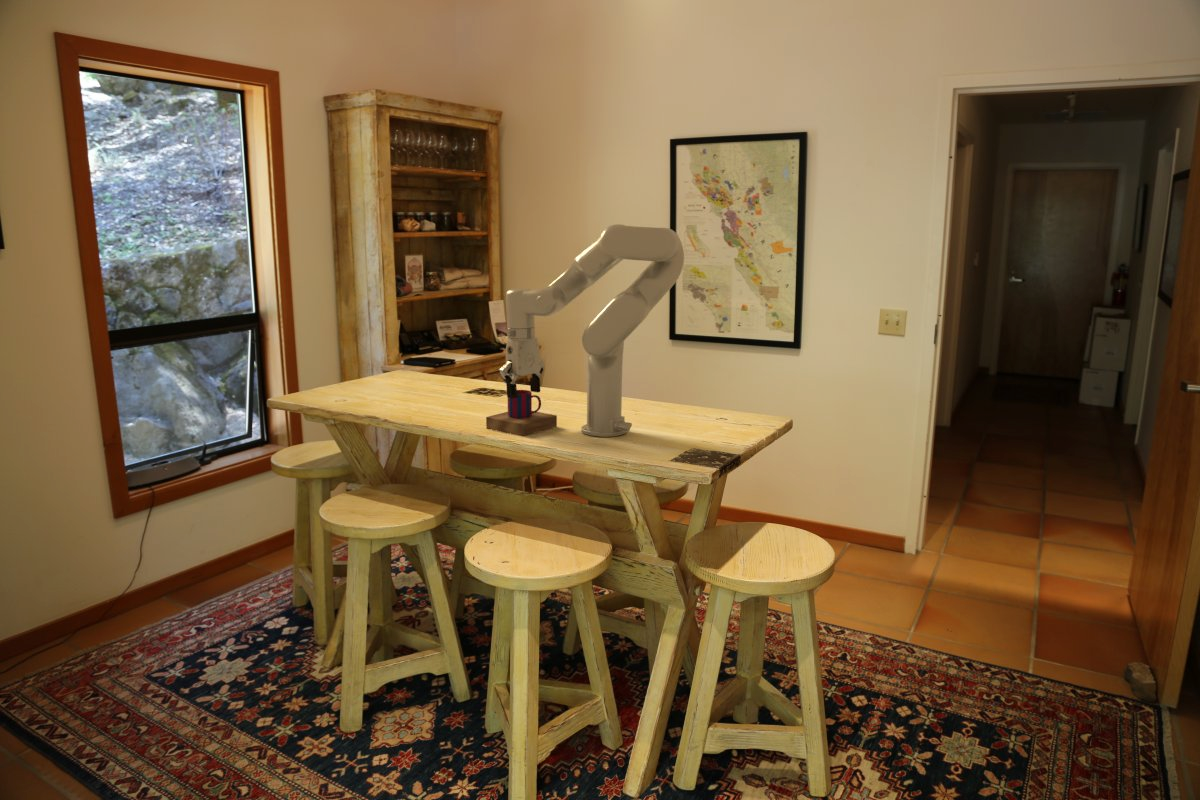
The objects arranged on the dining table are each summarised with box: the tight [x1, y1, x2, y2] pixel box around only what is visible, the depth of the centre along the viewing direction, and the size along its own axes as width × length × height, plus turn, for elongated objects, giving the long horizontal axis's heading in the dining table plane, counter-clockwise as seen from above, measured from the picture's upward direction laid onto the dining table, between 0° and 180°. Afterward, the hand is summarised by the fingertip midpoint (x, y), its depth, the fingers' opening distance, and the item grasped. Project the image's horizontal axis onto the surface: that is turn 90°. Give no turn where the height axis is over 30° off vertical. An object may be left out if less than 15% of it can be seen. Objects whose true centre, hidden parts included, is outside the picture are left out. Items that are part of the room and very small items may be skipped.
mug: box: [507, 389, 542, 418], centre depth 236 cm, size 7×10×7 cm
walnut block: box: [485, 411, 558, 437], centre depth 238 cm, size 14×14×4 cm
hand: (523, 394), depth 236 cm, fingers open, 9 cm apart
